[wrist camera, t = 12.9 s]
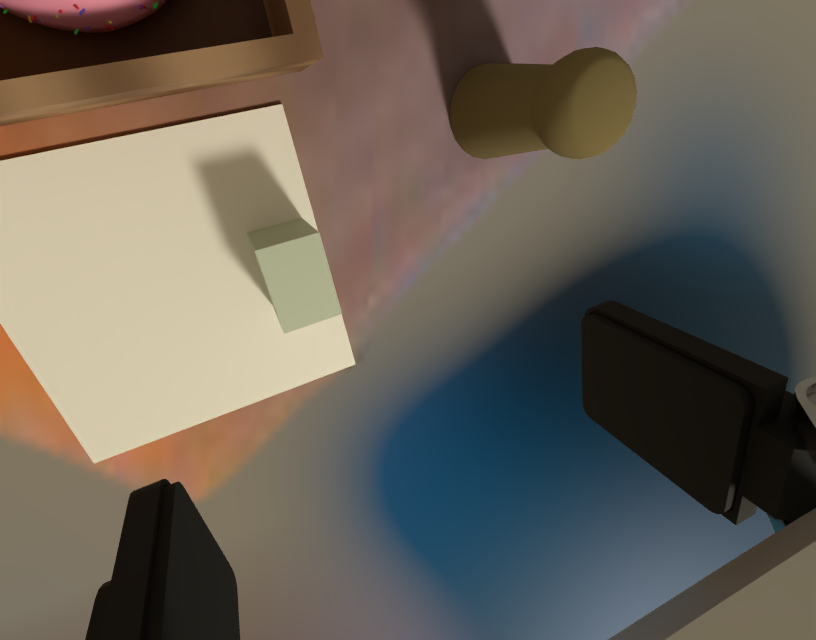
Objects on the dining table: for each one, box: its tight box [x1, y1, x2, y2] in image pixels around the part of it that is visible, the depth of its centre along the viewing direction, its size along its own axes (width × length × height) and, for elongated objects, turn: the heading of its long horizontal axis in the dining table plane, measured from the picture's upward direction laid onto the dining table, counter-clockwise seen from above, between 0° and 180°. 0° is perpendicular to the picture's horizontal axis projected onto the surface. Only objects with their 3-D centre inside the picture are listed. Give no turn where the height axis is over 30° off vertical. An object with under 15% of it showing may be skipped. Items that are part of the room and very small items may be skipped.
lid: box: [0, 104, 355, 463], centre depth 26 cm, size 18×18×6 cm
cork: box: [449, 47, 637, 159], centre depth 27 cm, size 6×6×11 cm
